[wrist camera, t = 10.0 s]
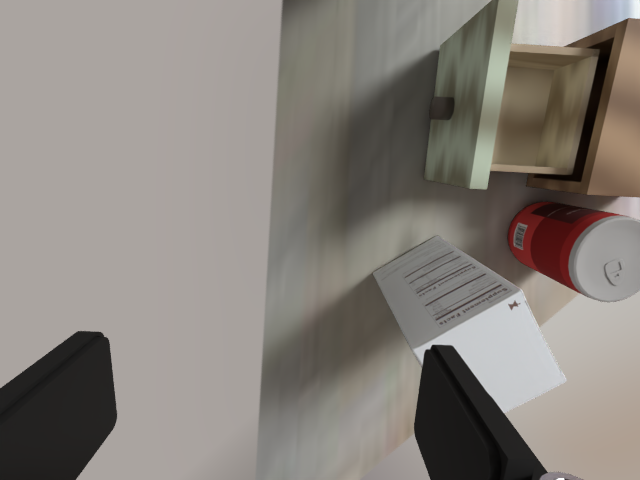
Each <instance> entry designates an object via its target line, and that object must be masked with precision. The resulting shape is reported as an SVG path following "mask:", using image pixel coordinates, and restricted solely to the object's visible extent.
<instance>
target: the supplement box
mask: <svg viewBox="0 0 640 480" xmlns="http://www.w3.org/2000/svg"><path fill="white" fill-rule="evenodd" d="M373 275H374V278H375V279H376V281H377V283H378V285H379V287H380V289H381V291H382V293H383V295H384V297H385V299H386V301H387V303H388V305H389V307H390V309H391V311H392V313H393V315H394V317H395V319H396V321H397V323H398V325H399V327H400V329H401V331H402V333H403V335H404V337H405V339H406V341H407V343H408V344H409V346H410V348H411V350H412V352H413V354H414V355H415V357H416V359H417V360H418V362H419V364H420V365H421V367H422V366H423V358H424V352H425V350H426V349H430V348H431V346H432V345H452V346H453V347H454V348H455V349H456V351H457V352H458V353H459V355H460V356H461V357H462V359H463V360H464V361H465V363H466V364H467V365H468V367H469V368H470V370H471V371H472V372H473V374H474V375H475V376H476V378H477V379H478V380H479V382H480V383H481V385H482V386H483V387H484V389H485V390H486V391H487V393H488V394H489V395H490V396H491V397H492V398H493V399H494V401H495V402H496V403H497V405H498V406H499V407H500V409H501V410H502V411H503V413H506V412H508V411H510V410H512V409H513V408H516V407H518V406H520V405H522V404H524V403H526V402H528V401H530V400H532V399H534V398H536V397H538V396H540V395H542V394H544V393H545V392H547V391H549V390H551V389H553V388H555V387H557V386H559V385H561V384H563V383H565V382H566V381H567V379H566V377H565V376H564V374H563V372H562V370H561V369H560V367H559V365H558V363H557V361H556V359H555V358H554V355H553V354H552V352H551V350H550V348H549V346H548V344H547V342H546V341H545V339H544V337H543V335H542V333H541V331H540V328H539V326H538V324H537V322H536V320H535V318H534V316H533V314H532V312H531V309H530V307H529V305H528V303H527V300H526V298H525V296H524V293H523V291H522V289H520V288H519V287H517V286H516V285H514V284H512V283H511V282H509V281H508V280H506V279H505V278H503V277H502V276H500V275H498V274H497V273H495V272H494V271H492V270H491V269H489V268H488V267H486V266H484V265H483V264H481V263H480V262H478V261H476V260H475V259H473V258H472V257H470V256H469V255H467V254H466V253H464V252H463V251H461V250H460V249H458V248H457V247H455V246H453V245H452V244H450V243H449V242H447V241H446V240H444V239H443V238H441V237H440V236H435V237H434V238H432V239H430V240H428V241H427V242H425V243H423V244H421V245H420V246H418V247H416V248H415V249H413V250H411V251H409V252H408V253H406V254H404V255H402V256H401V257H399V258H397V259H395V260H394V261H392V262H390V263H389V264H387V265H385V266H383V267H382V268H380V269H378V270H376V271H375V272H373Z"/></svg>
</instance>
